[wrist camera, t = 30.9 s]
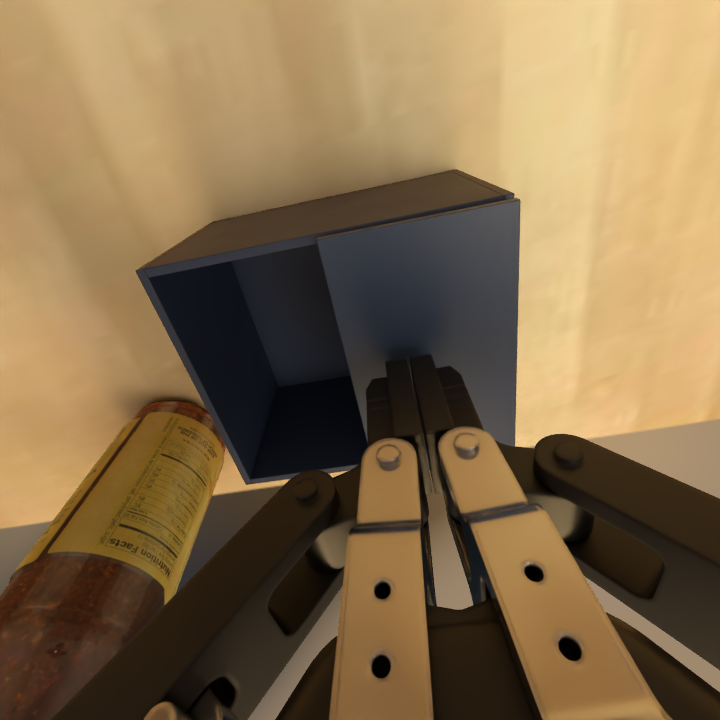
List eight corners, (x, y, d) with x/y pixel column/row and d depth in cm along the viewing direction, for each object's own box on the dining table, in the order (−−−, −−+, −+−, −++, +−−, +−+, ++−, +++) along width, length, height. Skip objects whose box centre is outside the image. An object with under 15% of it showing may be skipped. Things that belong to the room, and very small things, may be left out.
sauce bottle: (165, 472, 27) (-166, 1059, 10) (114, 404, 24) (-496, 1093, 7) (251, 455, 26) (50, 1065, 9) (210, 383, 23) (-213, 1108, 6)
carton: (212, 221, 18) (134, 270, 12) (457, 169, 17) (514, 193, 11) (276, 389, 23) (245, 485, 17) (467, 357, 22) (510, 447, 16)
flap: (317, 237, 11) (316, 239, 11) (517, 197, 10) (520, 199, 10) (375, 471, 16) (375, 476, 16) (512, 454, 15) (514, 460, 15)
